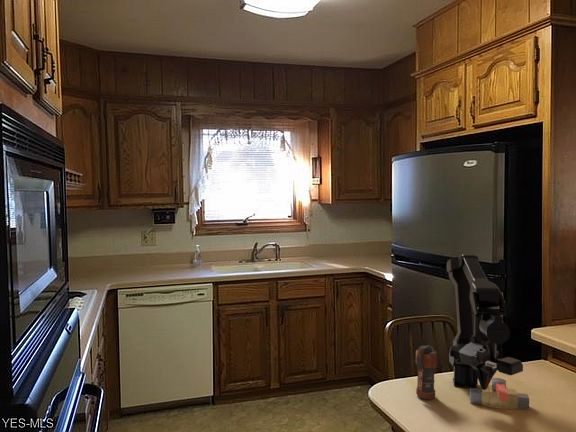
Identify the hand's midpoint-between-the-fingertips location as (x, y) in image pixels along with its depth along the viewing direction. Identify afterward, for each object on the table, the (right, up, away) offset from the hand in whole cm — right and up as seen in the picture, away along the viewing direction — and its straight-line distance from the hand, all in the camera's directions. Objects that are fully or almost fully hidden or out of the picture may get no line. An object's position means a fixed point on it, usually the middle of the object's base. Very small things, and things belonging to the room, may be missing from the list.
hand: (483, 389), depth 131 cm
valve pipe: (+6, -6, +4) cm, 9 cm away
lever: (+5, -1, 0) cm, 5 cm away
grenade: (-14, -6, +9) cm, 17 cm away
